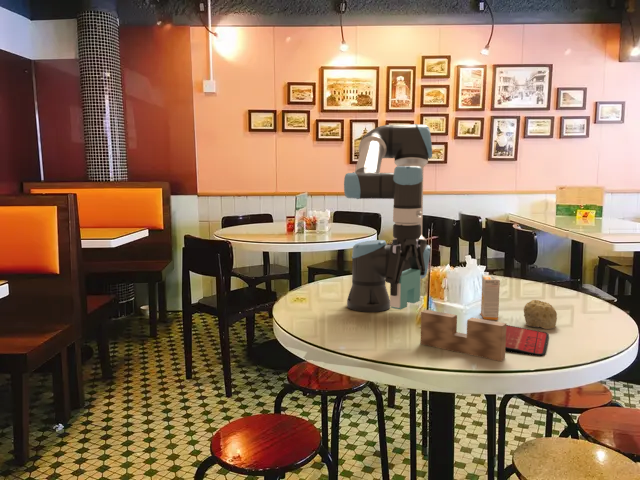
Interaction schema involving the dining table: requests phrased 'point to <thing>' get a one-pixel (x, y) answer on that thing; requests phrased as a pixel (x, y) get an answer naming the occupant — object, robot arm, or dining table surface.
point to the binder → (526, 341)
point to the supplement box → (490, 297)
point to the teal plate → (409, 287)
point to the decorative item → (540, 314)
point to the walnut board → (464, 335)
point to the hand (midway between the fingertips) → (405, 302)
